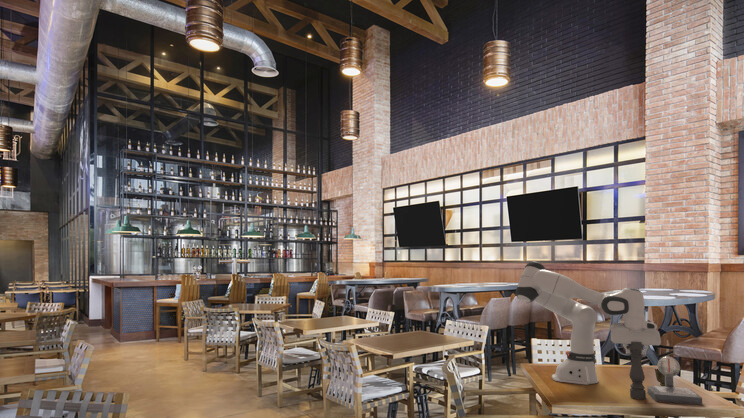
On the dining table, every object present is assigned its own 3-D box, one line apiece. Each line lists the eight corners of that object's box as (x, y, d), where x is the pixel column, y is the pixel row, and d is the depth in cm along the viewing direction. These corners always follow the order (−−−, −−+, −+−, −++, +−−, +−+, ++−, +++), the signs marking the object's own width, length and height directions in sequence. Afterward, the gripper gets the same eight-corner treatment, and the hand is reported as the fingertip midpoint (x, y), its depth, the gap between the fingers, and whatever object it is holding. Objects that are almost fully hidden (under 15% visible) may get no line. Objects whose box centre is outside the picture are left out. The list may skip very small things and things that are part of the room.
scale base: (655, 401, 214) (653, 360, 216) (647, 392, 227) (645, 354, 229) (702, 404, 208) (699, 363, 210) (691, 396, 222) (689, 357, 224)
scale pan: (660, 394, 213) (660, 391, 214) (653, 388, 224) (653, 385, 224) (696, 397, 209) (696, 394, 209) (688, 390, 220) (688, 388, 220)
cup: (675, 388, 235) (674, 371, 235) (659, 387, 236) (658, 371, 237) (669, 384, 242) (668, 368, 243) (653, 384, 243) (652, 367, 244)
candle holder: (645, 400, 215) (642, 342, 218) (629, 398, 218) (627, 341, 221) (646, 396, 220) (643, 340, 223) (630, 394, 224) (628, 339, 226)
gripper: (610, 323, 223) (612, 354, 221) (661, 325, 217) (662, 357, 215) (608, 321, 229) (609, 351, 227) (657, 323, 223) (658, 354, 221)
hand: (636, 354), depth 221 cm, fingers closed on candle holder, 5 cm apart
